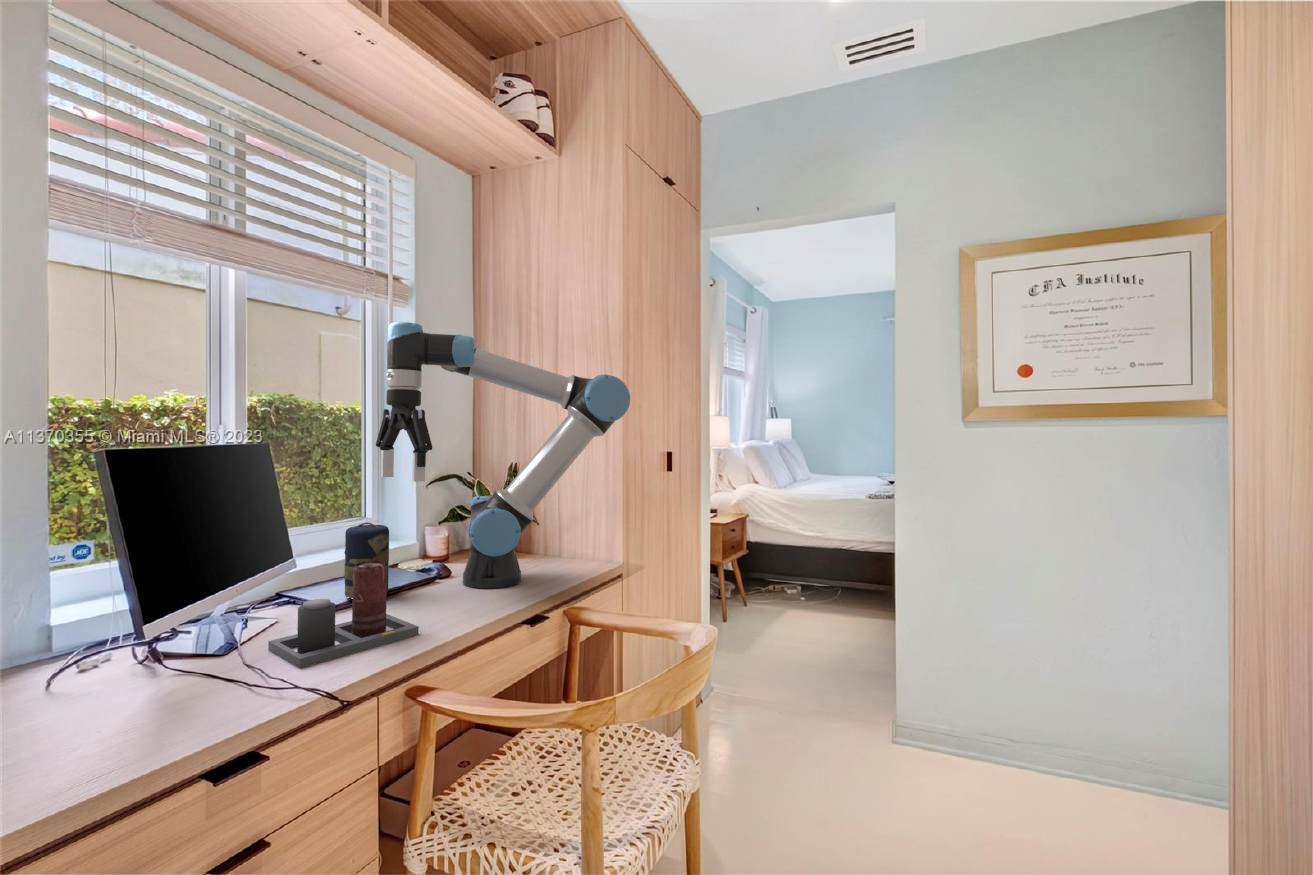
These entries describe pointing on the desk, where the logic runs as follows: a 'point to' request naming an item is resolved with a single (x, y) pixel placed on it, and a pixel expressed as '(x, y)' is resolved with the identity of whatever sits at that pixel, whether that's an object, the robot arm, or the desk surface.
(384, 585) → the can
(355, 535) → the canister
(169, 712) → the desk surface
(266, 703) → the desk surface
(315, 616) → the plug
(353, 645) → the desk organizer tray
